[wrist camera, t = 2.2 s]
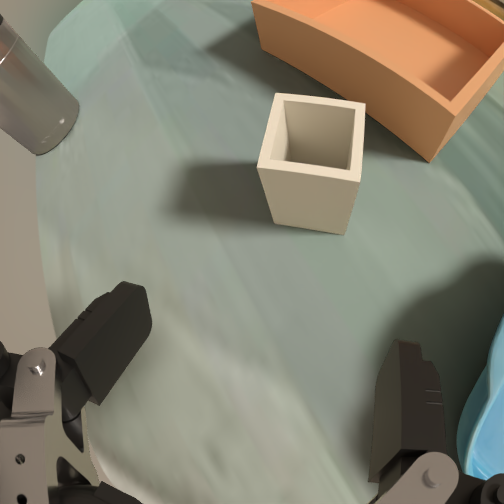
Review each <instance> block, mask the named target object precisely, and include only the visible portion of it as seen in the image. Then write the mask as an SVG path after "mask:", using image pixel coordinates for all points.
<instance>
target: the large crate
mask: <svg viewBox="0 0 504 504" xmlns="http://www.w3.org/2000/svg"><path fill="white" fill-rule="evenodd" d="M251 4H252V8H253V12H254V17H255V21H256V26H257V30H258V35H259V39H260V44H261V49H262V50H264V51H266V52H268V53H270V54H272V55H274V56H275V57H277V58H279V59H281V60H283V61H285V62H286V63H288V64H290V65H292V66H293V67H295V68H297V69H299V70H300V71H302V72H304V73H306V74H307V75H309V76H311V77H312V78H314V79H315V80H317V81H319V82H320V83H322V84H324V85H325V86H327V87H328V88H330V89H331V90H333V91H335V92H336V93H338V94H339V95H341V96H342V97H344V98H345V99H347V100H348V101H352V102H359V103H365V113H367V114H368V115H370V116H371V117H372V118H374V119H375V120H376V121H378V122H379V123H380V124H382V125H383V126H384V127H386V128H387V129H388V130H390V131H391V132H392V133H394V134H395V135H396V136H397V137H399V138H400V139H401V140H402V141H404V142H405V143H406V144H407V145H409V146H410V147H411V148H412V149H413V150H415V151H416V152H417V153H418V154H419V155H421V156H422V157H423V158H424V159H425V160H426V161H428V162H429V163H430V162H431V161H432V160H433V159H434V157H435V156H436V155H437V154H438V153H439V151H440V150H441V149H442V148H443V147H444V146H445V144H446V143H447V142H448V141H449V140H450V138H451V137H452V136H453V135H454V134H455V132H456V131H457V130H458V129H459V127H460V126H461V125H462V124H463V123H464V121H465V120H466V119H467V118H468V116H469V115H470V114H471V113H472V111H473V110H474V109H475V108H476V106H477V105H478V104H479V102H480V101H481V100H482V99H483V97H484V96H485V95H486V93H487V92H488V91H489V90H490V88H491V87H492V86H493V84H494V83H495V82H496V80H497V79H498V78H499V76H500V75H501V74H502V72H503V71H504V21H503V20H501V19H500V18H498V17H497V16H495V15H494V14H492V13H491V12H489V11H488V10H486V9H485V8H483V7H482V6H480V5H479V4H477V3H475V2H474V1H472V0H253V1H251Z"/></svg>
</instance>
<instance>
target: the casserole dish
mask: <svg viewBox="0 0 504 504" xmlns="http://www.w3.org/2000/svg"><path fill="white" fill-rule="evenodd" d="M457 453H458V457H459V462H460V465H461V468H462V471H463V473H464V474H467V475H470V476H473V477H477V478H480V479H483V480H488V479H489V478H490V477H492V476H493V475H496V474H499V473H504V314H503V316H502V318H501V320H500V322H499V325H498V327H497V330H496V332H495V335H494V337H493V340H492V343H491V346H490V349H489V353H488V358H487V365H486V367H485V368H484V370H483V372H482V373H481V375H480V377H479V379H478V381H477V382H476V384H475V386H474V388H473V390H472V392H471V394H470V395H469V397H468V399H467V402H466V404H465V406H464V409H463V411H462V414H461V417H460V421H459V425H458V431H457Z"/></svg>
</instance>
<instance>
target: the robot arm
mask: <svg viewBox="0 0 504 504" xmlns="http://www.w3.org/2000/svg"><path fill="white" fill-rule="evenodd" d="M78 112H79V103H78V101H77V100H76V99H75V98H74V97H73V95H72V94H71V93H70V92H69V91H68V90H67V89H66V88H65V87H64V85H63V84H62V83H61V82H60V81H59V80H58V79H57V78H56V76H55V75H54V74H53V73H52V72H51V71H50V70H49V69H48V68H47V66H46V65H45V64H44V63H43V62H42V61H41V60H40V59H39V58H38V56H37V55H36V54H35V53H34V52H33V51H32V50H31V48H30V47H29V46H28V45H27V44H26V43H25V42H24V41H23V39H22V38H21V37H20V36H19V35H18V34H17V33H16V32H15V31H14V29H13V28H12V27H11V26H10V25H9V24H8V23H7V21H6V20H5V19H3V17H2V16H1V14H0V128H1V129H2V130H4V131H5V132H6V133H7V134H9V135H10V136H11V137H12V138H14V139H15V140H16V141H17V142H19V143H20V144H21V145H23V146H24V147H25V148H27V149H28V150H29V151H30V152H32V153H33V154H36V155H38V154H43V153H46V152H48V151H49V150H51V149H52V148H54V147H55V146H56V145H57V144H58V143H60V142H61V141H62V140H63V138H64V137H65V136H66V135H67V134H68V132H69V131H70V129H71V128H72V126H73V124H74V123H75V121H76V118H77V116H78ZM151 328H152V318H151V314H150V309H149V304H148V299H147V294H146V290H145V288H144V287H143V286H140V285H136V284H133V283H129V282H125V281H123V282H120V283H119V284H118V285H117V286H116V287H115V288H114V289H113V290H112V291H111V292H110V293H109V292H107V293H105V294H103V295H102V296H100V297H98V298H96V299H95V300H94V301H93V302H92V303H91V304H90V305H89V306H88V307H87V308H86V310H85V311H83V312H82V313H81V314H80V315H79V316H78V319H75V320H74V322H73V323H72V324H71V325H70V326H69V327H68V328H67V329H66V330H65V331H64V332H63V333H62V334H61V336H60V337H59V338H58V339H57V340H56V341H55V342H54V343H53V344H52V345H51V347H49V348H48V349H47V348H43V347H39V348H34V349H31V350H29V351H28V352H26V353H25V354H24V355H19V354H14V353H8V352H7V351H6V349H5V348H4V345H3V344H2V342H1V341H0V504H142V503H141V502H140V501H138V500H137V499H136V498H134V497H132V496H130V495H128V494H126V493H124V492H122V491H120V490H118V489H116V488H114V487H112V486H110V485H108V484H106V483H105V482H103V481H101V483H99V479H98V475H97V472H96V469H95V467H94V465H93V463H92V461H91V457H90V451H89V443H88V433H87V422H86V410H85V407H84V405H85V404H86V402H87V401H88V400H89V401H91V402H93V403H95V404H97V405H99V406H100V404H101V403H102V401H103V400H104V399H105V397H106V396H107V394H108V393H109V391H110V390H111V388H112V387H113V386H114V384H115V383H116V381H117V380H118V378H119V377H120V376H121V374H122V373H123V371H124V370H125V369H126V367H127V366H128V364H129V363H130V361H131V360H132V359H133V357H134V356H135V354H136V353H137V352H138V350H139V349H140V347H141V346H142V345H143V343H144V342H145V341H146V339H147V338H148V336H149V334H150V331H151ZM440 392H441V386H440V379H439V374H438V373H437V371H436V369H435V367H434V366H433V364H432V362H431V361H423V360H422V354H421V347H420V344H419V343H418V342H412V341H405V340H398V339H395V340H394V342H393V343H392V346H391V348H390V350H389V352H388V354H387V357H386V359H385V361H384V363H383V365H382V367H381V369H380V371H379V374H378V377H377V381H376V388H375V408H374V425H373V438H372V450H371V460H370V470H369V478H368V482H374V483H379V488H378V493H377V494H376V495H375V496H374V497H373V498H372V499H371V500H370V501H369V502H368V503H367V504H504V473H499V474H496V475H493V476H492V477H490V478H489V479H488V480H483V479H480V478H477V477H473V476H470V475H467V474H464V473H462V472H460V471H459V470H458V469H457V466H456V464H455V462H454V461H453V460H452V459H451V458H450V457H449V456H448V455H447V450H446V435H445V423H444V412H443V405H442V394H441V393H440Z"/></svg>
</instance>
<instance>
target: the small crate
mask: <svg viewBox="0 0 504 504" xmlns="http://www.w3.org/2000/svg"><path fill="white" fill-rule="evenodd" d="M364 125H365V103H359V102H352V101H346V100H339V99H331V98H324V97H315V96H306V95H296V94H284V93H275V97H274V101H273V105H272V109H271V113H270V116H269V120H268V124H267V128H266V132H265V136H264V140H263V144H262V148H261V152H260V156H259V160H258V164H257V170H258V173H259V176H260V179H261V182H262V186H263V189H264V192H265V195H266V198H267V201H268V205H269V208H270V211H271V214H272V218H273V221H274V224H280V225H286V226H292V227H299V228H305V229H311V230H317V231H323V232H328V233H334V234H340V235H345V232H346V229H347V225H348V222H349V219H350V216H351V212H352V209H353V206H354V202H355V199H356V195H357V192H358V188H359V185H360V179H361V168H362V156H363V142H364Z"/></svg>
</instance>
